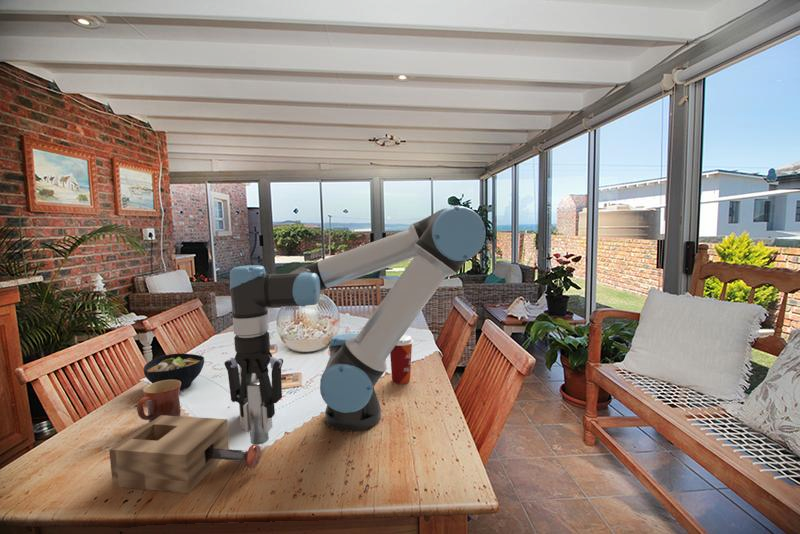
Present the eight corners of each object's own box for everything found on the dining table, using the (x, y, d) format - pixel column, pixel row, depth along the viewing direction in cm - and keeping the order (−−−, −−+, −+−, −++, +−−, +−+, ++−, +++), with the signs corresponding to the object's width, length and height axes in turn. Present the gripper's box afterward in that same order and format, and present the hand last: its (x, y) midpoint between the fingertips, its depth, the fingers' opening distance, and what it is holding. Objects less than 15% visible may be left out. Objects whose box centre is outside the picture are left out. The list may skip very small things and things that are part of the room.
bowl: (190, 373, 137) (188, 346, 136) (215, 384, 127) (213, 355, 126) (136, 389, 124) (133, 360, 123) (159, 403, 114) (157, 371, 113)
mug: (164, 413, 108) (161, 378, 107) (191, 416, 106) (188, 380, 105) (126, 436, 96) (122, 397, 95) (155, 439, 94) (152, 400, 93)
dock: (229, 451, 89) (227, 419, 88) (188, 493, 75) (186, 455, 74) (163, 446, 91) (161, 415, 90) (112, 486, 77) (109, 449, 77)
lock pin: (261, 460, 83) (260, 440, 82) (250, 473, 79) (249, 452, 78) (203, 455, 85) (202, 437, 84) (190, 468, 80) (189, 448, 80)
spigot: (271, 435, 92) (267, 380, 90) (263, 445, 88) (259, 387, 86) (255, 435, 92) (251, 379, 91) (247, 444, 88) (242, 386, 87)
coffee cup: (413, 385, 125) (413, 341, 123) (388, 385, 125) (387, 341, 123) (412, 375, 133) (412, 334, 132) (389, 375, 133) (388, 334, 132)
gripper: (293, 328, 90) (299, 422, 92) (226, 328, 92) (234, 420, 95) (279, 338, 82) (286, 440, 85) (207, 337, 85) (215, 436, 87)
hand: (258, 429), depth 90 cm, fingers closed on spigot, 4 cm apart
